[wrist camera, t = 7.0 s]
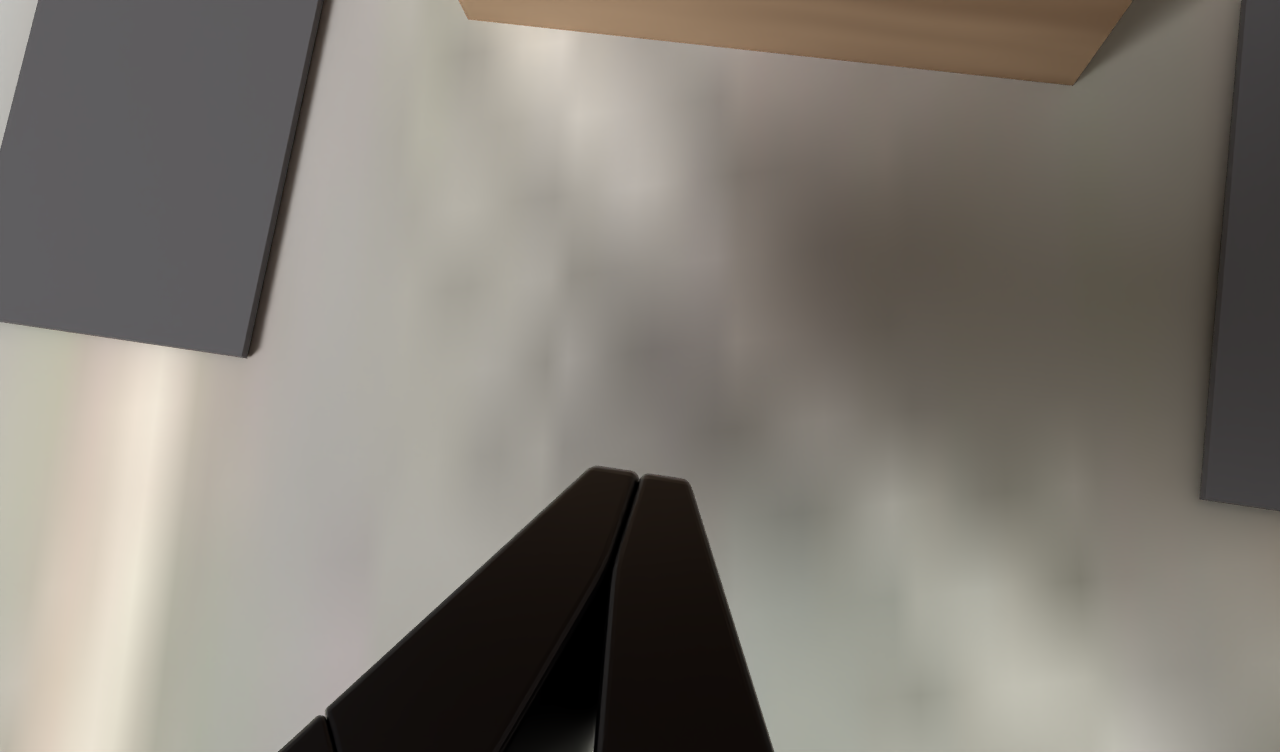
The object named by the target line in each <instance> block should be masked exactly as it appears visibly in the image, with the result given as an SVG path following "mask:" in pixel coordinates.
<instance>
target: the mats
mask: <svg viewBox="0 0 1280 752" xmlns="http://www.w3.org/2000/svg"><path fill="white" fill-rule="evenodd" d="M323 1H324V0H38V4H37V8H36V12H35V15H34V19H33V23H32V27H31V31H30V35H29V39H28V43H27V47H26V51H25V55H24V59H23V63H22V67H21V70H20V74H19V78H18V82H17V86H16V90H15V94H14V98H13V102H12V106H11V110H10V114H9V118H8V121H7V125H6V129H5V133H4V137H3V141H2V145H1V149H0V322H5V323H12V324H19V325H26V326H32V327H39V328H46V329H53V330H59V331H66V332H73V333H80V334H86V335H93V336H100V337H107V338H113V339H120V340H127V341H134V342H141V343H147V344H154V345H161V346H168V347H174V348H181V349H188V350H195V351H201V352H208V353H215V354H222V355H228V356H235V357H242V358H247V356H248V351H249V346H250V342H251V337H252V332H253V328H254V323H255V318H256V314H257V309H258V304H259V300H260V295H261V290H262V286H263V281H264V276H265V272H266V267H267V262H268V258H269V253H270V248H271V244H272V239H273V234H274V230H275V225H276V220H277V216H278V211H279V206H280V201H281V197H282V192H283V187H284V183H285V178H286V173H287V169H288V164H289V159H290V155H291V150H292V145H293V141H294V136H295V131H296V127H297V122H298V117H299V113H300V108H301V103H302V99H303V94H304V89H305V85H306V80H307V75H308V71H309V66H310V61H311V57H312V52H313V47H314V43H315V38H316V33H317V29H318V24H319V19H320V15H321V10H322V5H323ZM1200 499H1202V500H1209V501H1216V502H1223V503H1229V504H1236V505H1243V506H1250V507H1256V508H1263V509H1270V510H1277V511H1280V0H1241V12H1240V23H1239V35H1238V47H1237V59H1236V71H1235V83H1234V95H1233V107H1232V119H1231V131H1230V143H1229V155H1228V167H1227V179H1226V191H1225V203H1224V215H1223V227H1222V239H1221V251H1220V263H1219V275H1218V287H1217V299H1216V310H1215V322H1214V334H1213V346H1212V358H1211V370H1210V382H1209V394H1208V406H1207V418H1206V430H1205V442H1204V454H1203V466H1202V478H1201V490H1200Z"/></svg>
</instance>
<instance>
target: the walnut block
mask: <svg viewBox="0 0 1280 752" xmlns="http://www.w3.org/2000/svg"><path fill="white" fill-rule="evenodd" d="M1132 1H1133V0H459V2H460V4H461V6H462V8H463V10H464V12H465V14H466V16H467V18H468V19H469V20H479V21H488V22H497V23H506V24H515V25H524V26H533V27H542V28H552V29H561V30H570V31H579V32H588V33H597V34H606V35H615V36H625V37H634V38H643V39H652V40H661V41H670V42H679V43H689V44H698V45H707V46H716V47H725V48H734V49H743V50H752V51H762V52H771V53H780V54H789V55H798V56H807V57H816V58H825V59H835V60H844V61H853V62H862V63H871V64H880V65H889V66H898V67H908V68H917V69H926V70H935V71H944V72H953V73H962V74H972V75H981V76H990V77H999V78H1008V79H1017V80H1026V81H1035V82H1045V83H1054V84H1063V85H1072V86H1073V85H1074V83H1075V82H1076V80H1077V79H1078V78H1079V76H1080V75H1081V73H1082V72H1083V70H1084V69H1085V68H1086V66H1087V65H1088V63H1089V62H1090V61H1091V59H1092V58H1093V56H1094V55H1095V54H1096V52H1097V51H1098V49H1099V48H1100V47H1101V45H1102V44H1103V42H1104V41H1105V39H1106V38H1107V37H1108V35H1109V34H1110V32H1111V31H1112V30H1113V28H1114V27H1115V25H1116V24H1117V23H1118V21H1119V20H1120V18H1121V17H1122V16H1123V14H1124V13H1125V11H1126V10H1127V8H1128V7H1129V6H1130V4H1131V3H1132Z"/></svg>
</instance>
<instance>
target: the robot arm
mask: <svg viewBox="0 0 1280 752" xmlns="http://www.w3.org/2000/svg"><path fill="white" fill-rule="evenodd" d="M325 716H326V718H325V717H324V716H321V715H320V716H317V717H316V718H314V719H313V720H312V721H311V722H310V723H309V724H308V725H307V726H306V727H305V728H304V729H303V730H302V731H300V732H299V733H298V734H297V735H296V736H295V737H294V738H293V739H292V740H291V741H290V742H288V743H287V744H286V745H285V746H284V747H283V748H282V749H281V750H279V751H278V752H592V751H593V752H774V750H773V746H772V743H771V740H770V737H769V734H768V730H767V727H766V724H765V721H764V718H763V714H762V711H761V708H760V705H759V702H758V698H757V695H756V692H755V689H754V686H753V682H752V679H751V676H750V673H749V670H748V666H747V663H746V660H745V657H744V654H743V650H742V647H741V644H740V641H739V637H738V634H737V631H736V628H735V625H734V621H733V618H732V615H731V612H730V609H729V605H728V602H727V599H726V596H725V593H724V589H723V586H722V583H721V580H720V577H719V573H718V570H717V567H716V564H715V561H714V557H713V554H712V551H711V548H710V545H709V541H708V538H707V535H706V532H705V529H704V525H703V522H702V519H701V516H700V513H699V509H698V506H697V503H696V500H695V496H694V493H693V490H692V487H691V485H690V484H689V482H688V481H686V480H685V479H681V478H675V477H668V476H662V475H655V474H645V475H643V476H642V477H641V479H640V480H639V477H638V475H637V474H636V473H635V472H633V471H629V470H622V469H616V468H609V467H603V466H594V467H591V468H589V469H588V470H586V471H585V472H584V473H583V474H582V475H581V476H580V477H579V478H578V479H577V480H576V481H574V482H573V483H572V484H571V485H570V486H569V487H568V488H567V489H566V490H565V491H563V492H562V493H561V494H560V495H559V496H558V497H557V498H556V499H555V500H554V501H553V502H551V503H550V504H549V505H548V506H547V507H546V508H545V509H544V510H543V511H542V512H541V513H539V514H538V515H537V516H536V517H535V518H534V519H533V520H532V521H531V522H530V523H529V524H527V525H526V526H525V527H524V528H523V529H522V530H521V531H520V532H519V533H518V534H516V535H515V536H514V537H513V538H512V539H511V540H510V541H509V542H508V543H507V544H506V545H504V546H503V547H502V548H501V549H500V550H499V551H498V552H497V553H496V554H495V555H494V556H492V557H491V558H490V559H489V560H488V561H487V562H486V563H485V564H484V565H483V566H481V567H480V568H479V569H478V570H477V571H476V572H475V573H474V574H473V575H472V576H471V577H469V578H468V579H467V580H466V581H465V582H464V583H463V584H462V585H461V586H460V587H459V588H457V589H456V590H455V591H454V592H453V593H452V594H451V595H450V596H449V597H448V598H447V599H445V600H444V601H443V602H442V603H441V604H440V605H439V606H438V607H437V608H436V609H434V610H433V611H432V612H431V613H430V614H429V615H428V616H427V617H426V618H425V619H424V620H422V621H421V622H420V623H419V624H418V625H417V626H416V627H415V628H414V629H413V630H412V631H410V632H409V633H408V634H407V635H406V636H405V637H404V638H403V639H402V640H401V641H400V642H398V643H397V644H396V645H395V646H394V647H393V648H392V649H391V650H390V651H389V652H387V653H386V654H385V655H384V656H383V657H382V658H381V659H380V660H379V661H378V662H377V663H375V664H374V665H373V666H372V667H371V668H370V669H369V670H368V671H367V672H366V673H365V674H363V675H362V676H361V677H360V678H359V679H358V680H357V681H356V682H355V683H354V684H352V685H351V686H350V687H349V688H348V689H347V690H346V691H345V692H344V693H343V694H342V695H340V696H339V697H338V698H337V699H336V700H335V701H334V702H333V703H332V704H331V705H330V706H328V707H327V708H326V710H325ZM593 748H594V750H593Z"/></svg>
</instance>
